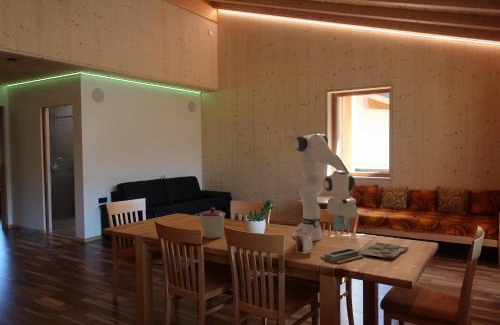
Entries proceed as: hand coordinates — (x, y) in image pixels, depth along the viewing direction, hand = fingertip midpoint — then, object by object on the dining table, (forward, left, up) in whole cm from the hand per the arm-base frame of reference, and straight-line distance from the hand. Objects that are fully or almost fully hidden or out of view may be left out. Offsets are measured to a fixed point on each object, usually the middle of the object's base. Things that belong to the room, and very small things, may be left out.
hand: (341, 223), depth 223 cm
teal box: (0, 0, -3) cm, 3 cm away
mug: (-22, -9, -20) cm, 31 cm away
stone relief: (+6, +28, -20) cm, 35 cm away
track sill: (0, 0, -20) cm, 20 cm away
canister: (-88, -37, -20) cm, 97 cm away
